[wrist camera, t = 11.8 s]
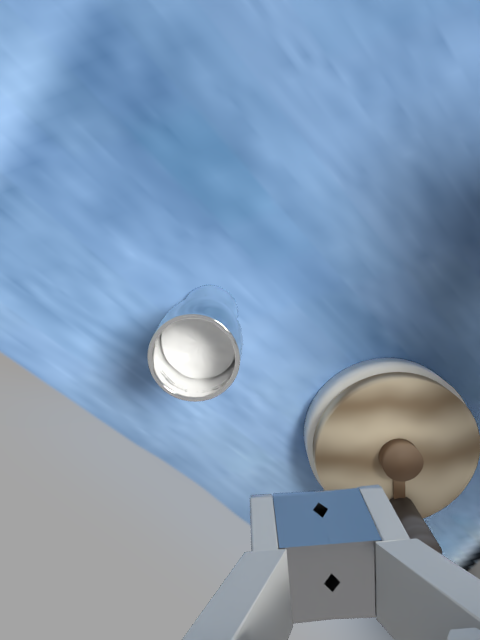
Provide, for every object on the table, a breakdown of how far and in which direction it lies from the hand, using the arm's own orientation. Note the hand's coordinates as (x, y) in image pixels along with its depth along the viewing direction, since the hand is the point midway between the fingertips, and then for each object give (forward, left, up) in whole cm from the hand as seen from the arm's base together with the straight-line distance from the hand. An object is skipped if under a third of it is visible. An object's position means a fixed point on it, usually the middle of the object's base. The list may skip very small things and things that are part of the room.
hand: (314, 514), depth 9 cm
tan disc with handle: (-14, +18, -30) cm, 37 cm away
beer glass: (+5, +3, -33) cm, 34 cm away
